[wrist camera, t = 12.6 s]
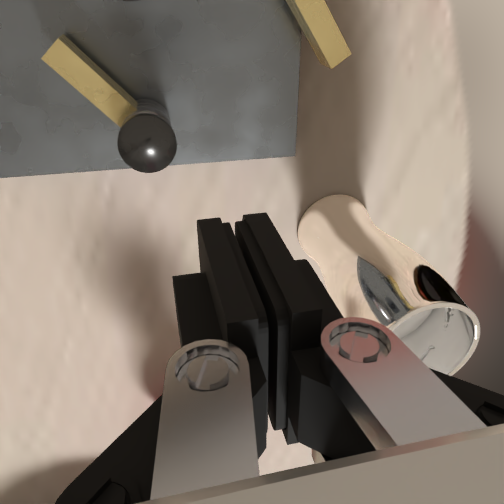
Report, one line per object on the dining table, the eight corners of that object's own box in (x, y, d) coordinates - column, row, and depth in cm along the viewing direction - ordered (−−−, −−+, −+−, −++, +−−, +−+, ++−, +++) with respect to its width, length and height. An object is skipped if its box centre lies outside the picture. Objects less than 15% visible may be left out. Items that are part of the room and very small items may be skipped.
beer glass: (361, 174, 37) (478, 279, 24) (379, 242, 40) (489, 364, 28) (280, 210, 37) (354, 334, 24) (306, 275, 41) (382, 411, 28)
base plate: (-3, 169, 31) (-17, 188, 28) (-97, -144, 23) (-129, -160, 20) (289, 148, 34) (301, 163, 32) (300, -130, 26) (318, -142, 23)
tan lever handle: (182, 122, 30) (188, 144, 26) (148, 157, 31) (150, 183, 27) (75, 20, 26) (64, 28, 22) (39, 63, 27) (22, 78, 23)
